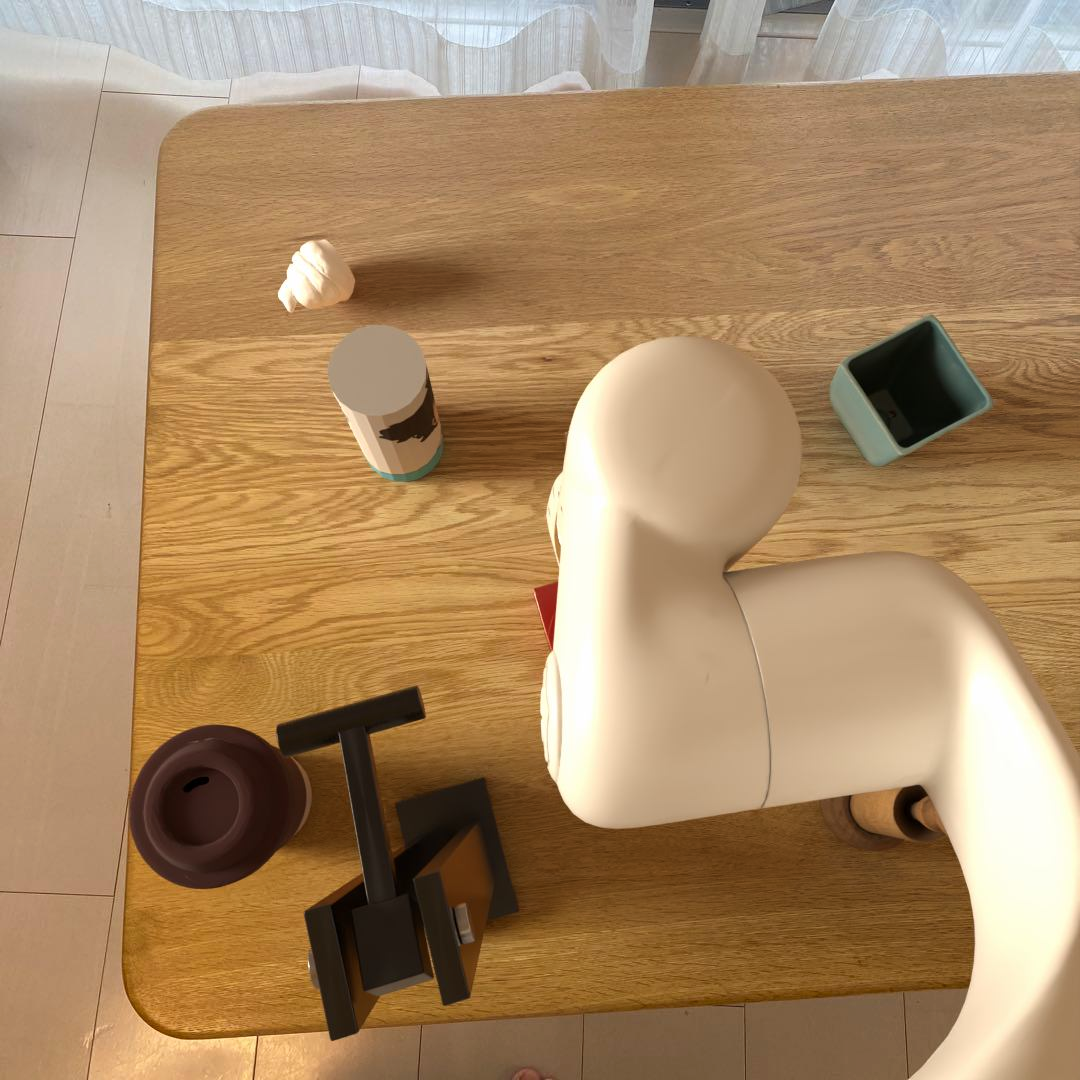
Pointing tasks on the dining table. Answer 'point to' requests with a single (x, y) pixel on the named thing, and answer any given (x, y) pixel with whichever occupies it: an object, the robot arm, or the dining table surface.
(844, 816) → the mortar and pestle
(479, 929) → the lever bracket
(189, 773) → the coffee cup
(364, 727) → the t-handle lever
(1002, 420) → the dining table surface
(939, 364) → the flower pot
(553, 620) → the button block
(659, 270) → the dining table surface
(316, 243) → the garlic bulb
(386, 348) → the beige cylindrical canister
